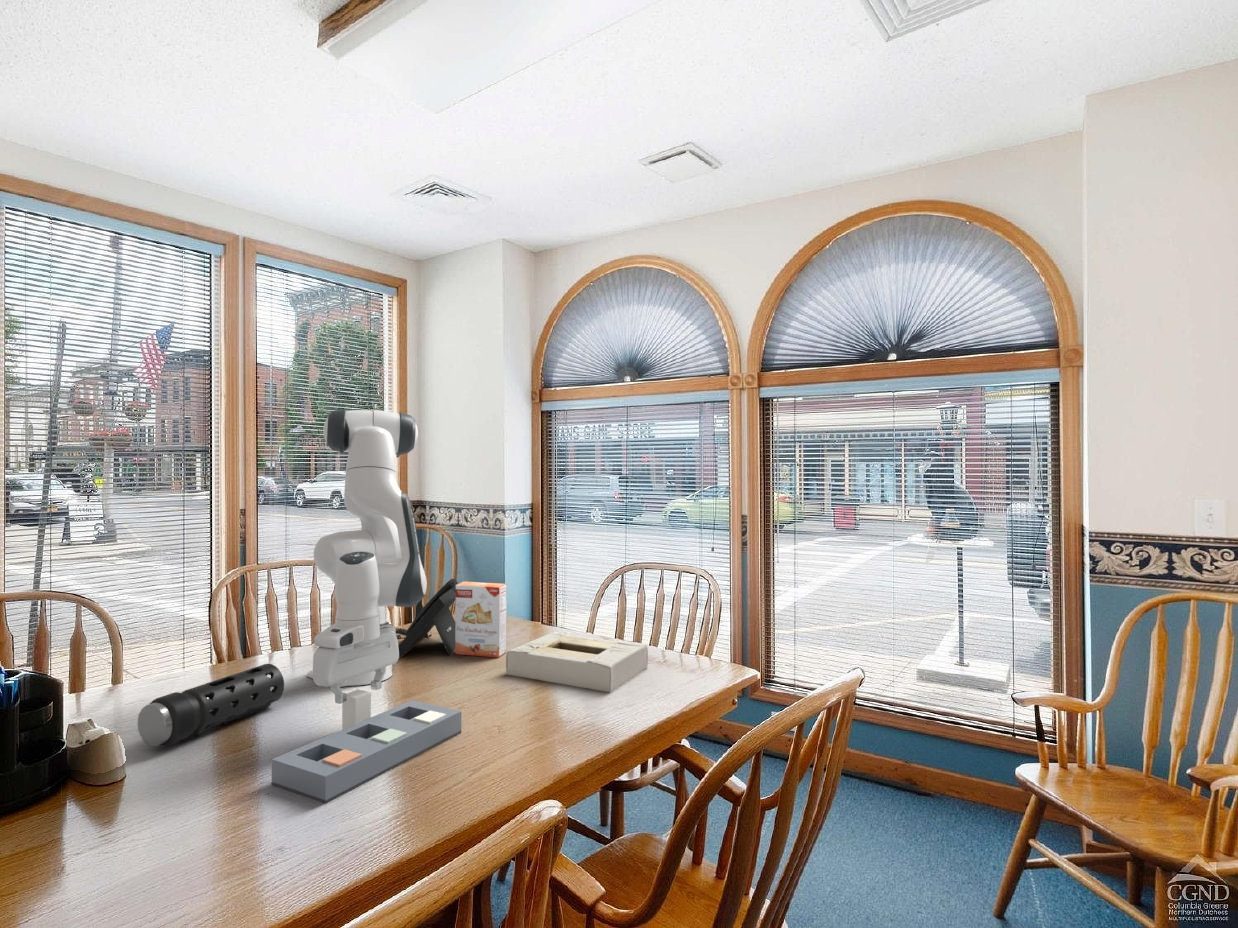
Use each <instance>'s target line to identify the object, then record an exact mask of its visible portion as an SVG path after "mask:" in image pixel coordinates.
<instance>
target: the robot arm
mask: <svg viewBox="0 0 1238 928" xmlns="http://www.w3.org/2000/svg"><path fill="white" fill-rule="evenodd" d="M322 431H323V432H322V433H323V438H324V440H325V443H326V446H327V447H329V449H331V450H332V451H335V452H339V453H342V454H343V453H345V452H347V453H348V455H347V459H346V460H347V461H346V465H345V477H344V491H343V492H344V493H343V495H344V496H343V503H344V507H345V508H346V510H347V511H349V513H350V514H352V515H354V516H357V517H358V518H359V520H360V523H361V525H360V526H361V528H360V529H356V530H355V529H354V530H344V531H337V532H334V533H330V534H327V535H324V536H322V537H320V538H319V539H318V540H317V542H316V543H315V546H314V548H313V561H314V563H315V565H316V568H318V570H319V571H320V572H321V573H322V574H325V575H327V577H328V578H330V580H331V581H333V584H334V598H335V602H336V608H337V609H336V613H335V618H334V619H335V622H333V623H332V624H331V625H330V626H328V627H327V628H326V629H325V628H324V630H323V631H321V632H320V633H317V634H316V635H315V636H314V639H313V641H314V645H315V646H316V647H317V648H316V649H315V651H314V653H313V657H312V659H313V660H312V669H310V670H309V671H308V672H307V677H308V678H310V679H312V680H313V683H314V684H315V685H317V686H319V687H325V688H328V687H329V689H330V690H331V691H332V693H333V695H334V702H335V704H338V705H339V704H342V703H343V702H346V701H347V698H346V697H347V693H348V692H343V691H342V689H341V688H342V687H343V688H344V687H351V686H352V687H353V686H364V685H370V689H371V690H373V691H377V690H380V689H382V685H383V683H382V682H383V681H385V680H387V679H389V678H391V677H392V676H393V671H392V670H393V665H394V664H397V663H398V661H399V659H400V658H399V648H398V645H399V641H398V640H397V636H396V635H397V634H396V628H397V627H396V626H395V625H394V623H392V622H390V621H387V619H386V618H387V611H386V610H387V607H397V608H398V607H400V608H413V607H415V606H416V605H417V604H419V603H420V602H421V601H422V600H423V599H424V598H425V596H426V593H427V589H428V583H427V576H426V573H425V572H426V571H425V569H424V567H423V563H422V556H421V550H420V545H419V538H418V531H417V525H416V519H415V514H414V509H413V504H412V502H411V501H412V500H410V497H409V495H408V494H407V493H405V492H403V491H402V490H401V489H400V487H399V483H398V479H397V459H398V458H400V457H401V456H403V455H407V454H409V453H410V452H411V451H413V450H414V448H415V446H416V444H417V441H418V438H419V429H418V426H417V423H416V420H415V418H414V417H413V416H412V415H411V414H407V413H403V412H399V413H397V412H393V411H385V410H378V409H373V410H372V409H371V410H370V409H366V410H365V409H354V410H346V409H345V408H344V409H334V410H332V411H331V412H330V413H328V416H327V417H326V419H325V421H324V424H323V430H322Z"/></svg>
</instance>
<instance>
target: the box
mask: <svg viewBox="0 0 1238 928" xmlns="http://www.w3.org/2000/svg"><path fill="white" fill-rule="evenodd" d="M648 662H649V650H648V646H647V644H645V643H641V642H632V641H625V640H619V641H617V640H610V639H609V640H608V639H602V638H597V637H596V638H595V637H588V636H583V635H582V636H581V635H573V634H568V633H566V632H559V631H550V632H549V633H547V634H545V635H543V636H540V637H538V638H536V639H533V640H531V641H528V642H526V643H524V644H522V645H519V646H516V647H514V648H510V649H508V650H506V653H505V672H506V675H508V676H515V677H521V678H527V679H532V680H538V681H544V682H550V683H556V684H560V685H561V684H562V685H567V686H573V687H579V688H585V689H590V690H597V691H600V692H601V691H603V692H606V693H607V692H608V693H611V692H613V691H615V690H616V689H617V688H619V687H620V686H622V685H623V684H625V683H626V682H628V681H630V680H631V679H633V678H634V677H635V676H636V675H638V674H640V673H641V672H643V671H644V670H646V669H648V664H649V663H648Z"/></svg>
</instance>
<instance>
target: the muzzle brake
mask: <svg viewBox="0 0 1238 928" xmlns="http://www.w3.org/2000/svg"><path fill="white" fill-rule="evenodd" d="M269 676H270V677H269ZM271 688H272V689H271ZM284 690H285V681H284V677H283V674H282V672H281V671H280V669H279V668H278V666H276V665H275V664H272V663H264V664H260V665H258V666H256V667H253V668H252V667H251V668H249V669H246V670H243V671H239V672H236V673H234V674H231V675H228V676H225V677H222V678H218V679H216V680H212V681H209V682H207V683H204V684H201V685H198V686H193V687H191V688H188V689H185V690H183V691H182V692H178V691H177V692H171V693H169V694H165V695H162V696H160V697H156V698H155V699H153V700H152V701H151V702H150V703H149V704H147V705H145V706H143V707H142V708H141V710H140V711H139V713H138V718H137V729H138V733H139V736H140V737H141V740H142V741H143V742H144V743H145V744H146V745H148V746H149V747H154V748H155V747H158V746H159V747H160V746H164V747H168V746H170V745H173V744H175V743H177V742H182V743H185V742H187V741H190V740H192V739H194V738H197V737H199V736H200V734H201V732H202V731H205V730H207V729H210V728H213V727H215V726H218V725H227V724H228V723H230V722H231V721H237V720H239V719H242V718H244V717H247V716H249V715H252V714H254V713H257V712H259V711H262V710H264V709H267V708H269V707H271V704H272V703H276V702H277V701H279V700H280V698H281V697H282V695H283V693H284Z"/></svg>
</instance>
